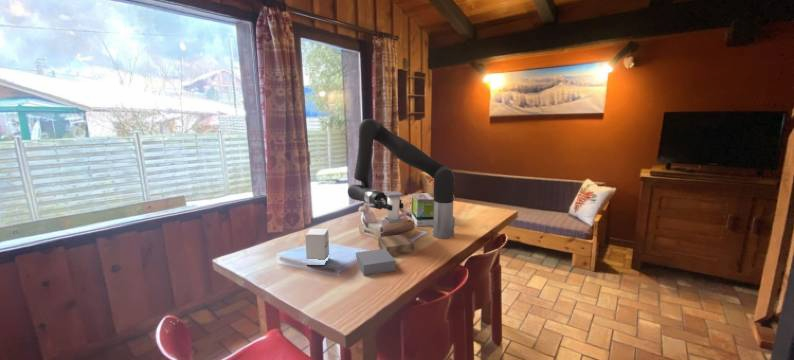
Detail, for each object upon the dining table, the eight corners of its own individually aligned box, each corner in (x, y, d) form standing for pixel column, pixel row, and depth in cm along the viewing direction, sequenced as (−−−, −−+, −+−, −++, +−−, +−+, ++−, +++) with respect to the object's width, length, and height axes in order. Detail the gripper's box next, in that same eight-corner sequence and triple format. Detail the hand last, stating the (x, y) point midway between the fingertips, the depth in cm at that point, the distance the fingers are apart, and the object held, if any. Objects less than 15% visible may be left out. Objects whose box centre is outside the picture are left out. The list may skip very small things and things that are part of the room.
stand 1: (385, 257, 131) (385, 248, 130) (395, 270, 120) (395, 260, 119) (356, 262, 127) (356, 252, 126) (363, 275, 116) (363, 265, 115)
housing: (397, 218, 140) (397, 191, 137) (402, 222, 134) (402, 194, 132) (384, 219, 138) (384, 192, 135) (388, 223, 132) (388, 195, 130)
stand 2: (403, 242, 147) (403, 234, 147) (413, 252, 136) (413, 243, 136) (378, 245, 143) (378, 237, 143) (386, 256, 132) (386, 247, 132)
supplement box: (325, 266, 123) (324, 234, 121) (306, 266, 123) (304, 234, 121) (329, 258, 130) (328, 228, 128) (311, 258, 131) (310, 228, 128)
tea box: (435, 225, 171) (435, 198, 168) (416, 226, 170) (416, 199, 167) (428, 217, 186) (429, 192, 183) (411, 218, 184) (411, 192, 182)
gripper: (361, 192, 142) (382, 200, 128) (389, 188, 150) (411, 196, 136) (361, 209, 143) (382, 218, 129) (389, 204, 151) (410, 213, 137)
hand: (397, 207), depth 133 cm, fingers closed on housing, 5 cm apart
